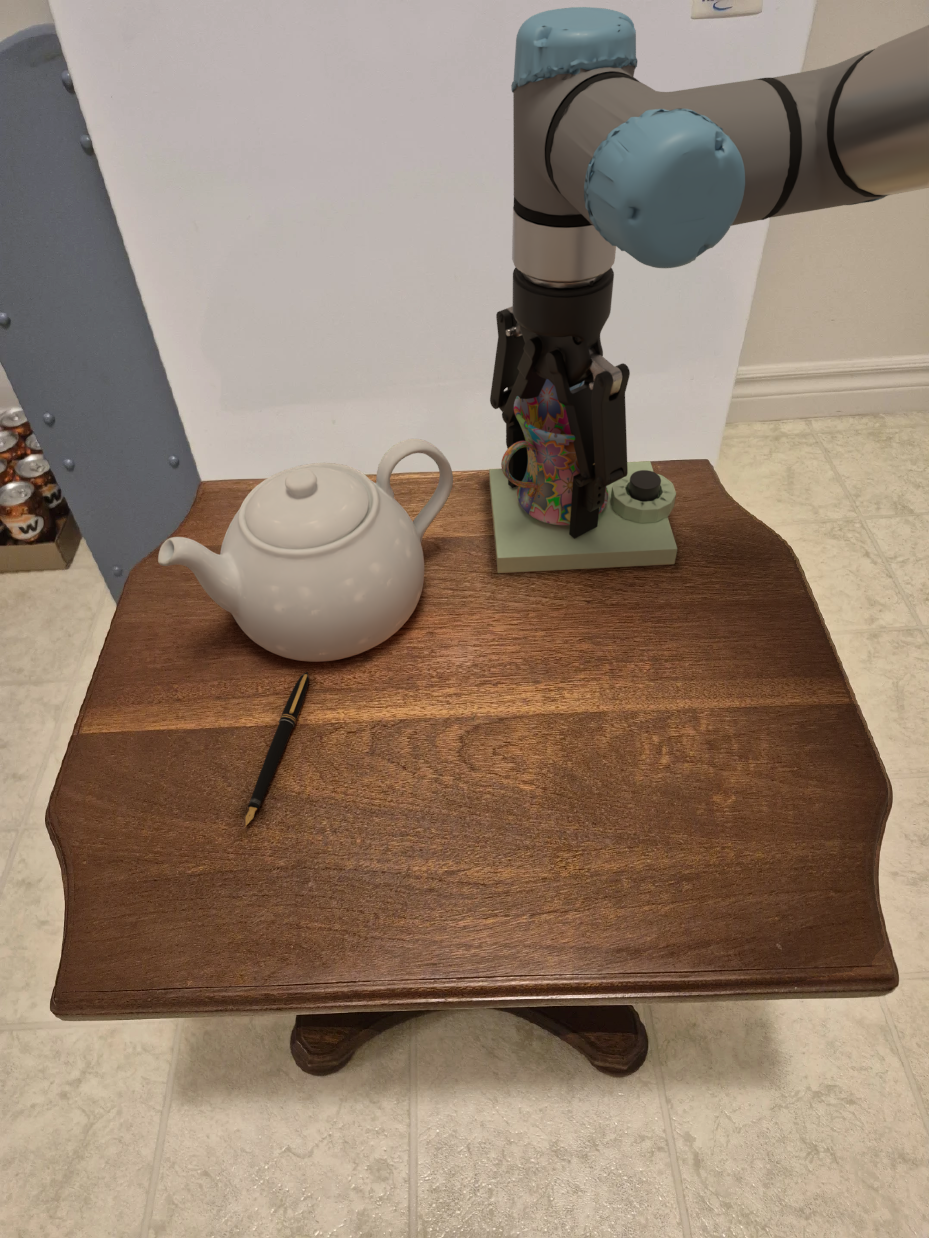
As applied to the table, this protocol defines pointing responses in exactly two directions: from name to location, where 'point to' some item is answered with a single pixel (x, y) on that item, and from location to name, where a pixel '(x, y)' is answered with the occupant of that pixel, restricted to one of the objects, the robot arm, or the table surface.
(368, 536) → the teapot
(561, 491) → the mug
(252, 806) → the fountain pen
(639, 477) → the button
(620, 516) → the scale
